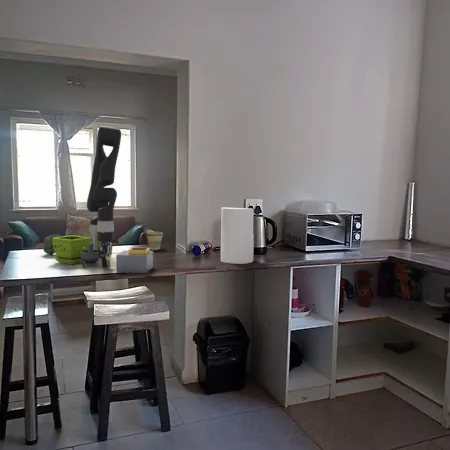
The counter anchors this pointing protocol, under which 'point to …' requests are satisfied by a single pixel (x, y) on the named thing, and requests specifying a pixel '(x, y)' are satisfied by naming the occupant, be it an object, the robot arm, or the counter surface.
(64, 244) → the flower pot
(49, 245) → the vegetable
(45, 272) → the counter surface
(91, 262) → the mortar and pestle
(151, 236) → the ceramic cup
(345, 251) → the counter surface
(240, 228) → the cylinder
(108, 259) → the pellet
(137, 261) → the grey box
